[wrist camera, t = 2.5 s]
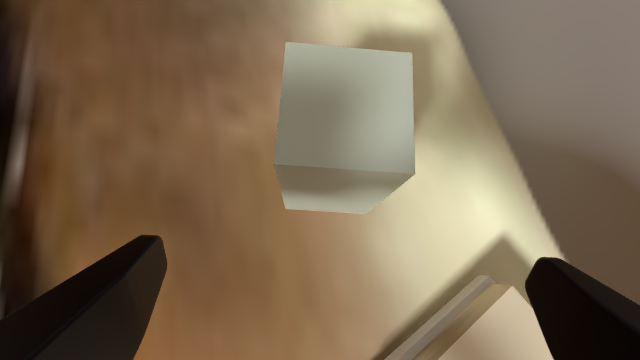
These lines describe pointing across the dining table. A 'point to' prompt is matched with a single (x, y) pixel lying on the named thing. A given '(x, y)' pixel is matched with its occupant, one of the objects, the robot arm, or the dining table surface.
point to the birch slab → (491, 330)
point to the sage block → (344, 127)
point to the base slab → (440, 319)
